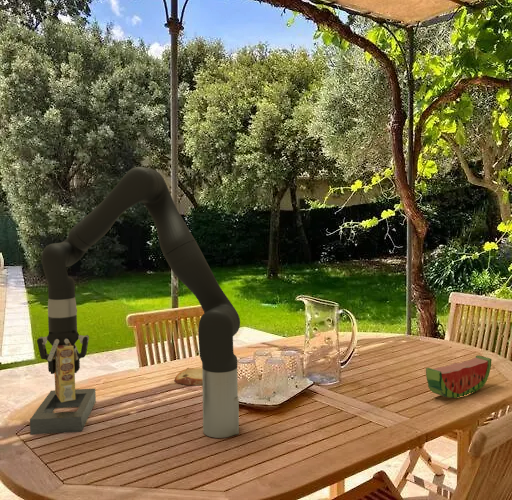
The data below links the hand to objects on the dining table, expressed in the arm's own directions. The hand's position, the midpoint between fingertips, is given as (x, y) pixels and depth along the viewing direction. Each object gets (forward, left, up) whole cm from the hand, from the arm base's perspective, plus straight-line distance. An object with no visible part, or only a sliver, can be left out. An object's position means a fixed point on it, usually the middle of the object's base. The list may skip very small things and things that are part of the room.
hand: (64, 372), depth 148 cm
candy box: (0, 0, -7) cm, 7 cm away
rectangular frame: (0, 0, -13) cm, 13 cm away
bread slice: (-41, -27, -13) cm, 51 cm away
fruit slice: (-120, -1, -13) cm, 120 cm away
